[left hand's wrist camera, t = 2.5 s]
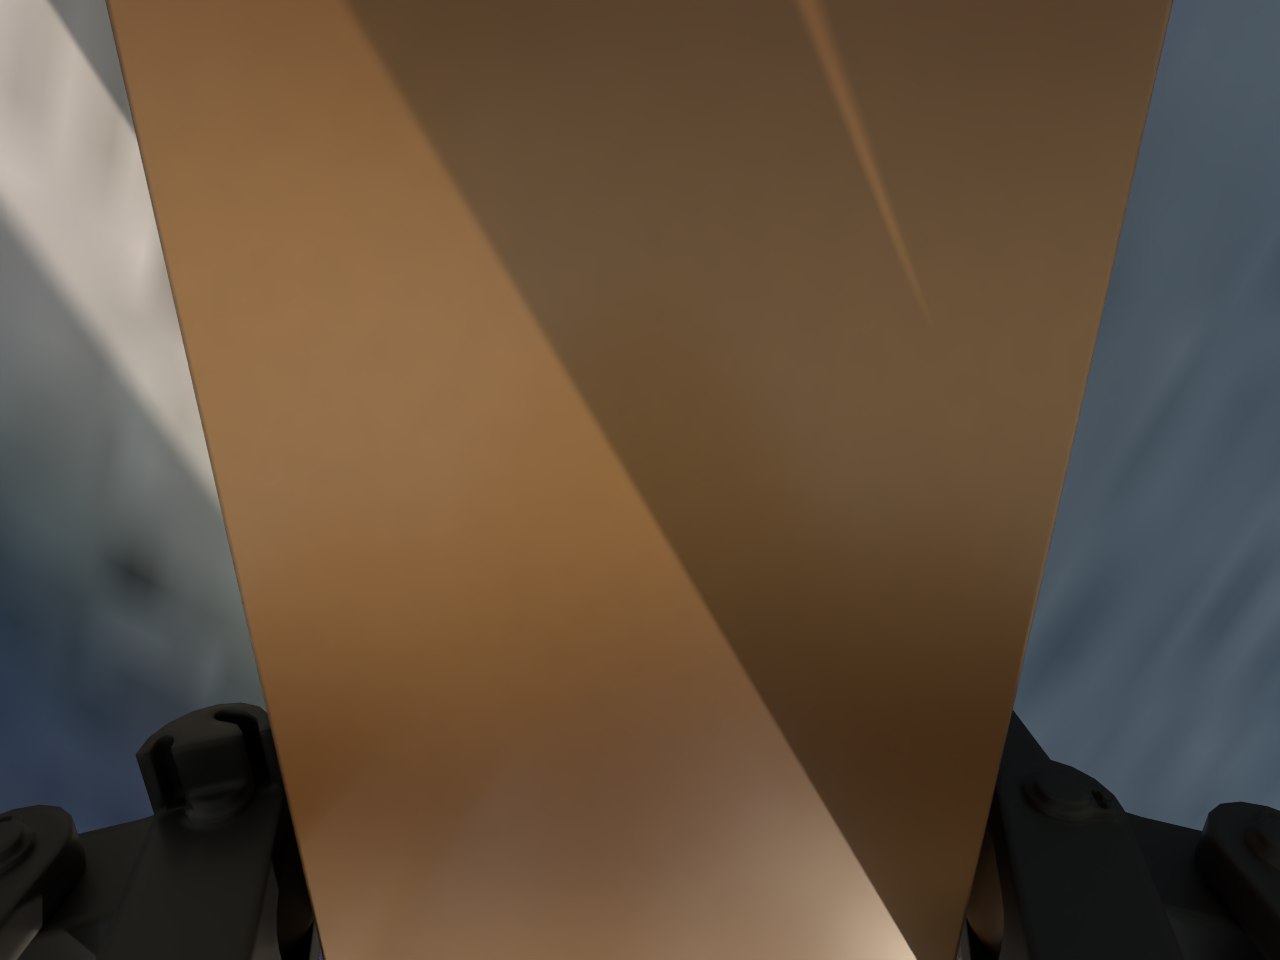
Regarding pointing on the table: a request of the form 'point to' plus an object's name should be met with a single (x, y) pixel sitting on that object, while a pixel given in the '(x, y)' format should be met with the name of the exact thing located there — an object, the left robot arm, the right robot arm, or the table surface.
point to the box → (639, 439)
